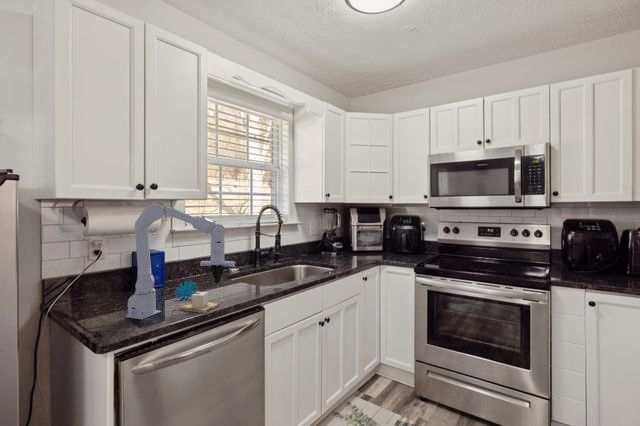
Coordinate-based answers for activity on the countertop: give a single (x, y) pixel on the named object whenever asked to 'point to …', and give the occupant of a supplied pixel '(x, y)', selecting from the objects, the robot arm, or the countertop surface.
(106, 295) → the countertop surface
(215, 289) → the countertop surface
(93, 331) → the countertop surface
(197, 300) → the white cube
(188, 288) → the gear
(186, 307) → the shaft plate
